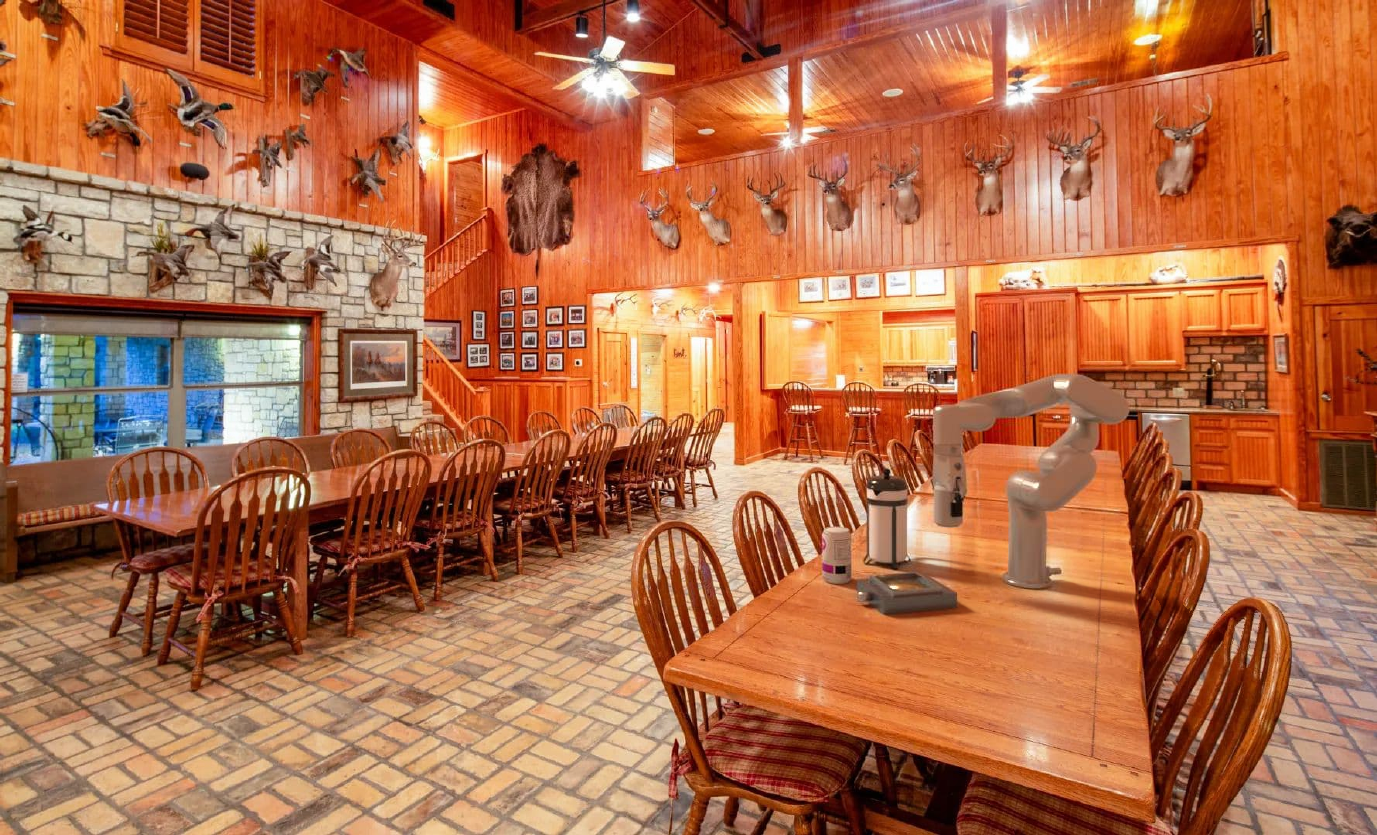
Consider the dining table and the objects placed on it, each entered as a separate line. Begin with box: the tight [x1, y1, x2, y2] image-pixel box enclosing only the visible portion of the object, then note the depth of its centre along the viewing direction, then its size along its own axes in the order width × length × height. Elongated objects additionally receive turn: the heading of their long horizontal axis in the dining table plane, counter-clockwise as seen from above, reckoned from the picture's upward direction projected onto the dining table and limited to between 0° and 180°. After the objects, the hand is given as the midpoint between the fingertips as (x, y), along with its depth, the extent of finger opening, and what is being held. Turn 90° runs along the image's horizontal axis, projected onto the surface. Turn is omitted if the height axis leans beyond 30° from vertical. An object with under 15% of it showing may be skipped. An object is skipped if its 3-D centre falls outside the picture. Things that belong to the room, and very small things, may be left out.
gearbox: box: [856, 571, 958, 616], centre depth 178 cm, size 23×16×5 cm
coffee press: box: [862, 467, 912, 570], centre depth 212 cm, size 17×16×30 cm
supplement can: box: [821, 526, 852, 585], centre depth 195 cm, size 8×8×15 cm
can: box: [933, 482, 964, 529], centre depth 186 cm, size 8×8×12 cm
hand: (948, 513), depth 186 cm, fingers closed on can, 7 cm apart
